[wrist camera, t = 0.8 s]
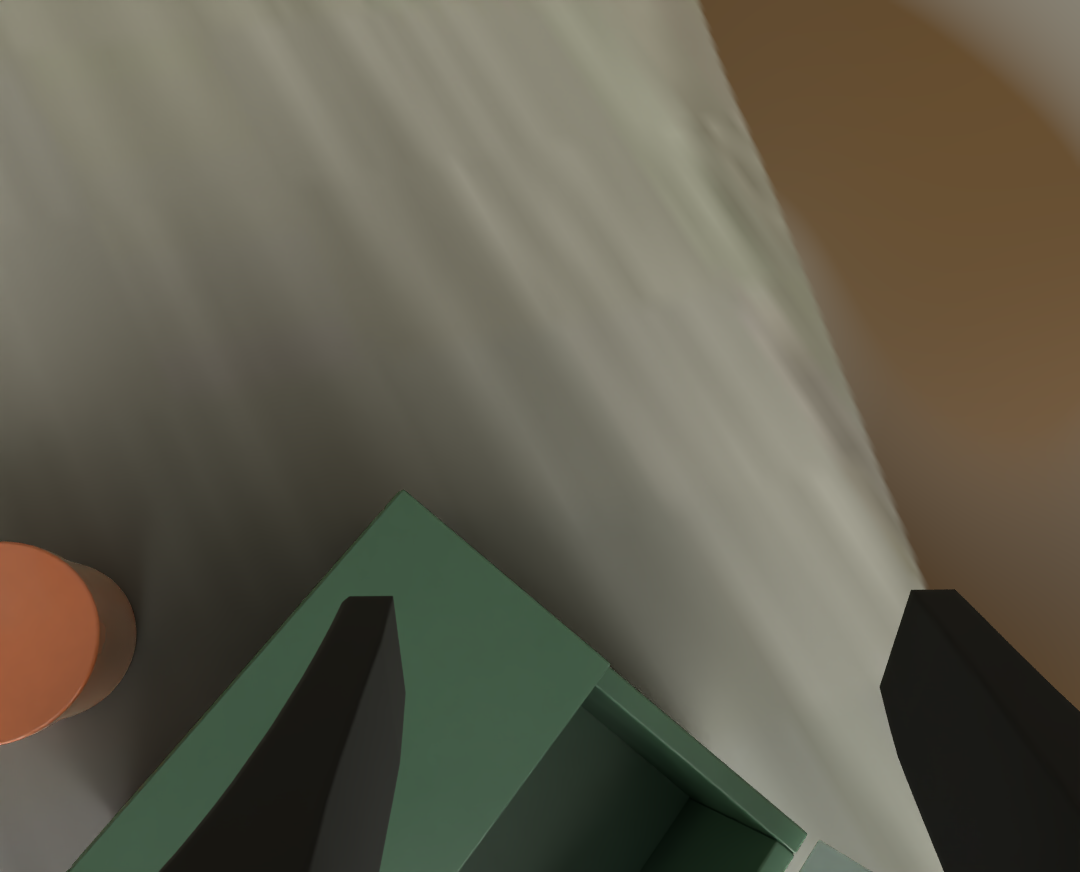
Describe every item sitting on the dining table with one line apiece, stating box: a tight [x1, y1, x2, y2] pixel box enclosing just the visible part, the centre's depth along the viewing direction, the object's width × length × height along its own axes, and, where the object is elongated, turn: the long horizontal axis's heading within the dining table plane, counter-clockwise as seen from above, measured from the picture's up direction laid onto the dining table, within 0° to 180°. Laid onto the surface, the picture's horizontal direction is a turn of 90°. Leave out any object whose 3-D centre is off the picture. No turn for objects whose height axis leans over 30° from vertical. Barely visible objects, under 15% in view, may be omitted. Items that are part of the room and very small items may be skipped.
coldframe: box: [66, 490, 807, 872], centre depth 24 cm, size 13×11×7 cm
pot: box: [0, 541, 137, 745], centre depth 24 cm, size 5×5×5 cm
